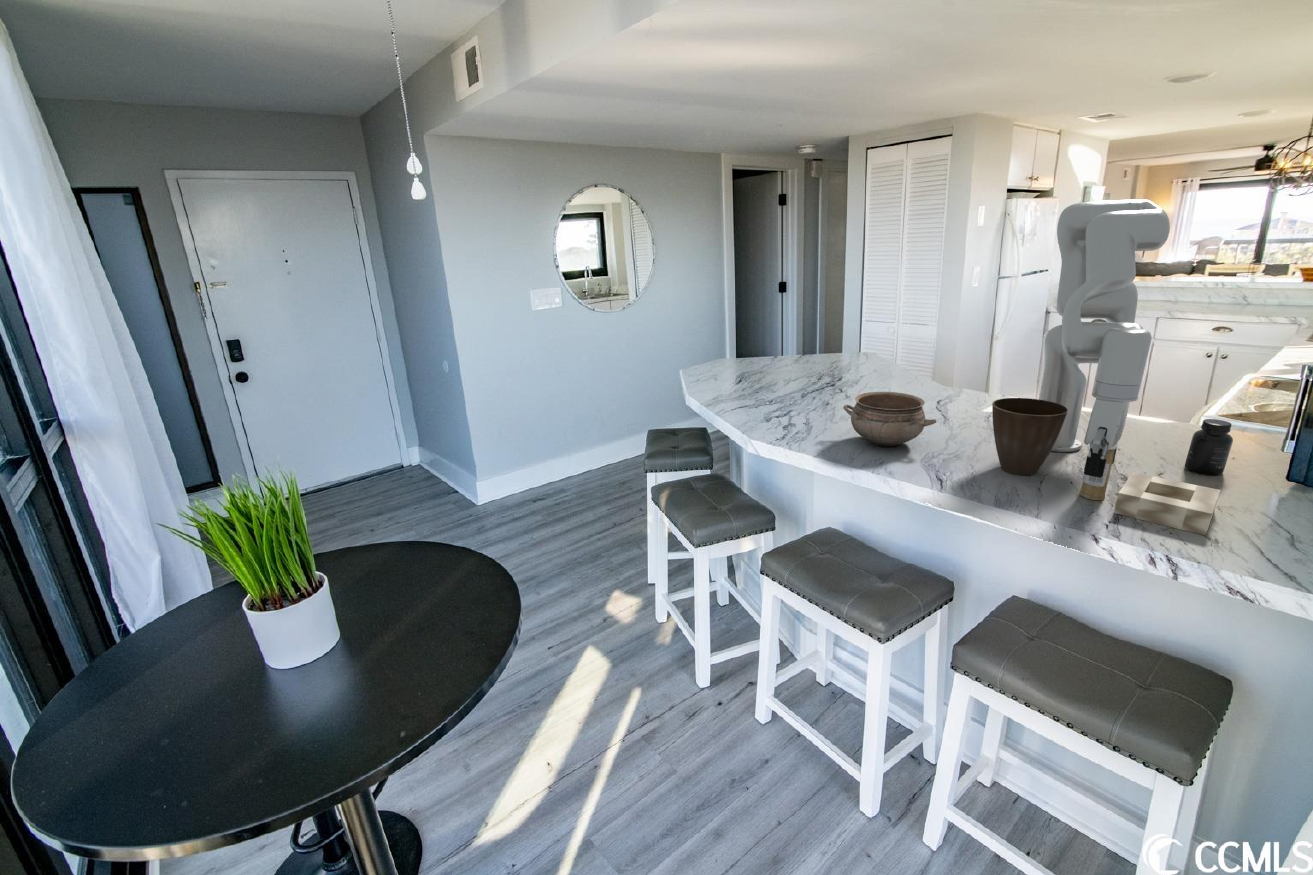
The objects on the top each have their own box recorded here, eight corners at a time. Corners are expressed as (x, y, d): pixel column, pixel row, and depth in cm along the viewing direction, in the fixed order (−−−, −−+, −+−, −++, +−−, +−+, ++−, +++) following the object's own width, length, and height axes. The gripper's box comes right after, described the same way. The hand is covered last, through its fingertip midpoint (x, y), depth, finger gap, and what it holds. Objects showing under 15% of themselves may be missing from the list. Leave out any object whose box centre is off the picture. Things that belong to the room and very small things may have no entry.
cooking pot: (944, 442, 162) (949, 399, 158) (919, 463, 148) (925, 416, 144) (856, 425, 178) (859, 386, 174) (827, 443, 164) (829, 401, 160)
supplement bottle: (1175, 466, 141) (1188, 418, 137) (1202, 464, 141) (1216, 416, 137) (1203, 477, 134) (1218, 427, 130) (1231, 475, 135) (1246, 425, 131)
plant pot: (971, 468, 144) (980, 405, 139) (1000, 453, 152) (1010, 393, 147) (1037, 487, 132) (1050, 419, 127) (1066, 470, 141) (1079, 406, 135)
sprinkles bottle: (1108, 497, 127) (1122, 438, 122) (1098, 502, 124) (1112, 442, 120) (1084, 490, 130) (1097, 432, 126) (1074, 495, 128) (1087, 437, 124)
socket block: (1113, 512, 120) (1118, 492, 119) (1128, 491, 129) (1132, 472, 128) (1205, 535, 110) (1212, 513, 109) (1214, 510, 119) (1220, 490, 118)
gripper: (1103, 380, 128) (1087, 454, 133) (1082, 395, 116) (1066, 476, 122) (1147, 385, 122) (1129, 462, 128) (1130, 402, 111) (1111, 486, 117)
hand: (1098, 469), depth 125 cm, fingers open, 9 cm apart
